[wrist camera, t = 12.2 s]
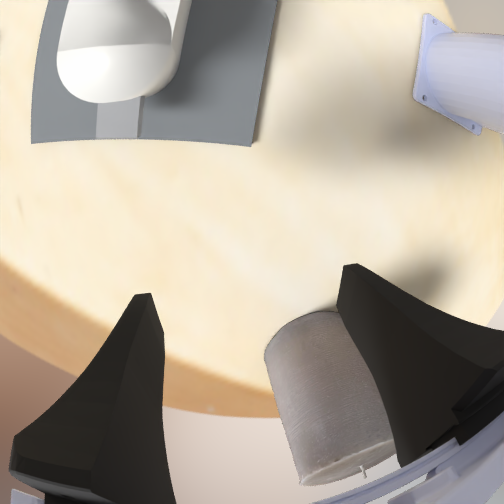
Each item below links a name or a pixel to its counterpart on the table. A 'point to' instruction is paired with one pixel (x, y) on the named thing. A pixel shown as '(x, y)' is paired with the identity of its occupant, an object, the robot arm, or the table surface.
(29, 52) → the table surface
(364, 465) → the pillar candle
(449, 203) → the table surface
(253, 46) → the slate mat
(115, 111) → the block
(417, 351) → the robot arm
